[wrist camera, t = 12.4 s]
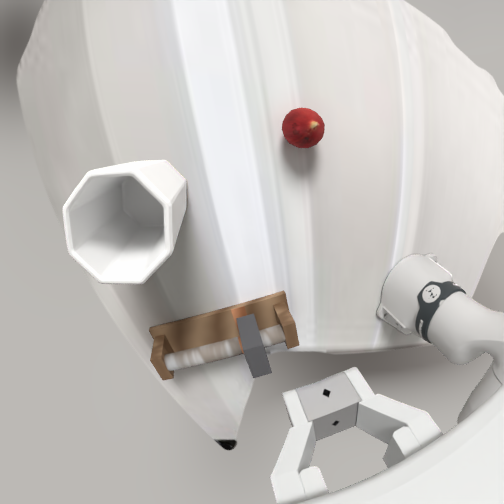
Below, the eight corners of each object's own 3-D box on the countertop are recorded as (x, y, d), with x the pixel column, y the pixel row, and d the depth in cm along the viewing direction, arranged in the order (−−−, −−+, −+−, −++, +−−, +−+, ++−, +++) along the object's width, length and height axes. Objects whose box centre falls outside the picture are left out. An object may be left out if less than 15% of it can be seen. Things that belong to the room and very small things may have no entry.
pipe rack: (283, 290, 48) (296, 314, 41) (291, 325, 51) (303, 350, 44) (149, 327, 46) (143, 354, 39) (167, 358, 49) (164, 386, 42)
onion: (304, 154, 40) (325, 155, 32) (270, 138, 38) (285, 136, 31) (318, 121, 38) (341, 117, 31) (285, 105, 36) (303, 95, 29)
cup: (201, 174, 38) (197, 192, 21) (173, 241, 41) (153, 305, 24) (132, 147, 35) (79, 147, 18) (108, 216, 38) (52, 262, 21)
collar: (253, 313, 45) (263, 344, 37) (261, 341, 47) (271, 372, 40) (236, 318, 45) (242, 350, 37) (245, 345, 47) (253, 378, 40)
